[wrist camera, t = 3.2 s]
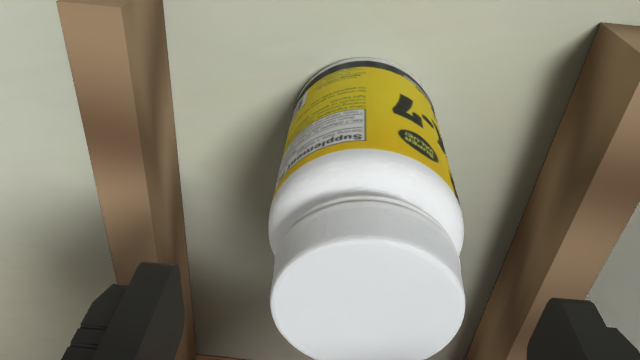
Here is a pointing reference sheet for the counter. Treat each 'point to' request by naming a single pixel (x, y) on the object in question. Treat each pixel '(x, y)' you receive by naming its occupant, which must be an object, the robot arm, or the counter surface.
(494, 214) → the counter surface
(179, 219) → the guide channel
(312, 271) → the supplement bottle
